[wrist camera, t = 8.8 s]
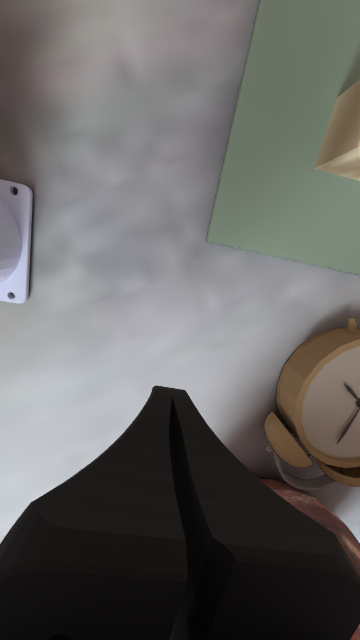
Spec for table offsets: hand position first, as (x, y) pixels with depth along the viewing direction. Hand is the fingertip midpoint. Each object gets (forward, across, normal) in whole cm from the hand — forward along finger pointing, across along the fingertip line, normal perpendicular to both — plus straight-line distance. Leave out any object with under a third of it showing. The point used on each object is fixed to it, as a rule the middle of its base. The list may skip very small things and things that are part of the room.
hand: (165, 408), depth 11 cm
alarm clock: (+11, -16, +4) cm, 20 cm away
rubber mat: (+10, -12, -15) cm, 22 cm away
